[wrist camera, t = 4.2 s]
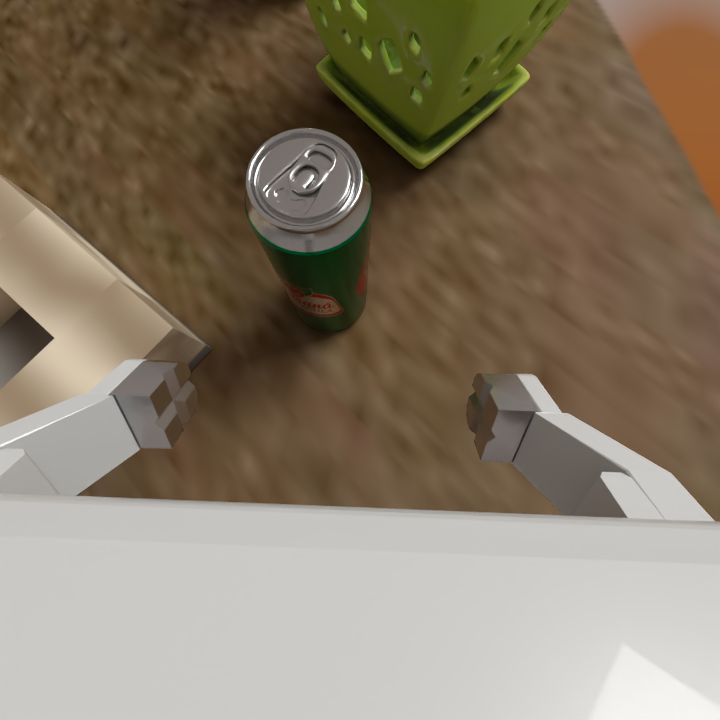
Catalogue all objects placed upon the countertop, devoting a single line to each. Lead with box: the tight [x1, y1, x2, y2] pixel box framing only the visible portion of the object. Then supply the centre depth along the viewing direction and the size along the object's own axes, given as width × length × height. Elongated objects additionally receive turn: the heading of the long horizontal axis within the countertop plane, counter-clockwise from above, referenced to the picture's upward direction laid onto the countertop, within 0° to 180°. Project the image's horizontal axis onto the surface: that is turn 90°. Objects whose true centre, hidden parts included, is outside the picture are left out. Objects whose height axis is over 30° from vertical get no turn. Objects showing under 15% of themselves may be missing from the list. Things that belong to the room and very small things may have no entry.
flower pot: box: [305, 0, 571, 169], centre depth 21 cm, size 14×14×13 cm
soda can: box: [245, 128, 373, 332], centre depth 18 cm, size 5×5×12 cm
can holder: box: [0, 174, 212, 427], centre depth 20 cm, size 16×16×5 cm
